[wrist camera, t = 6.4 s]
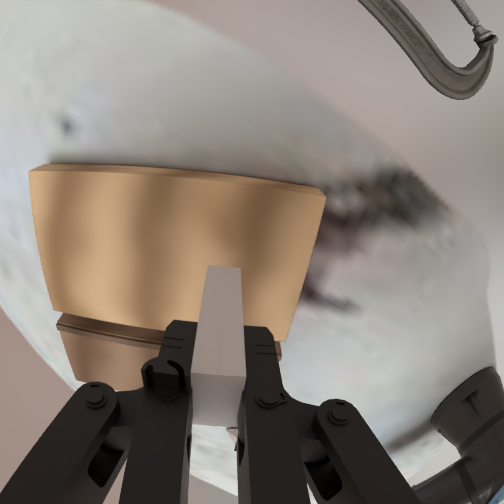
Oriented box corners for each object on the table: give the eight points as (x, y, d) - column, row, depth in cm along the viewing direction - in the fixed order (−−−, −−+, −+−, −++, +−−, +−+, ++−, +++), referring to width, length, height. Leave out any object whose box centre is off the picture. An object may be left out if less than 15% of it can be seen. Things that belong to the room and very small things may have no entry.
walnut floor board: (278, 337, 25) (282, 355, 23) (262, 392, 28) (264, 409, 26) (66, 309, 22) (55, 323, 20) (82, 367, 26) (75, 381, 24)
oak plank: (318, 188, 19) (326, 197, 17) (281, 324, 24) (285, 341, 22) (43, 164, 16) (28, 171, 15) (62, 296, 22) (53, 310, 20)
